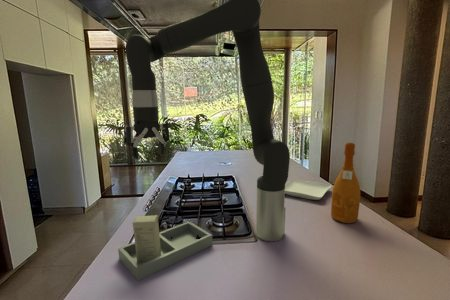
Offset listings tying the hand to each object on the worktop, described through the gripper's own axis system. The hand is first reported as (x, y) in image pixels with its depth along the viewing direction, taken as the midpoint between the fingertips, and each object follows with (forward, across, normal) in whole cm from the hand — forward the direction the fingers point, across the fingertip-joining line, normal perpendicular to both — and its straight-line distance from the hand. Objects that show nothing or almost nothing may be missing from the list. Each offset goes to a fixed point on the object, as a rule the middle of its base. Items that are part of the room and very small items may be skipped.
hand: (148, 156), depth 84 cm
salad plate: (+29, +76, -12) cm, 82 cm away
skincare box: (+28, -7, -11) cm, 30 cm away
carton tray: (+28, -1, -11) cm, 30 cm away
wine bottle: (+28, +61, -38) cm, 77 cm away
